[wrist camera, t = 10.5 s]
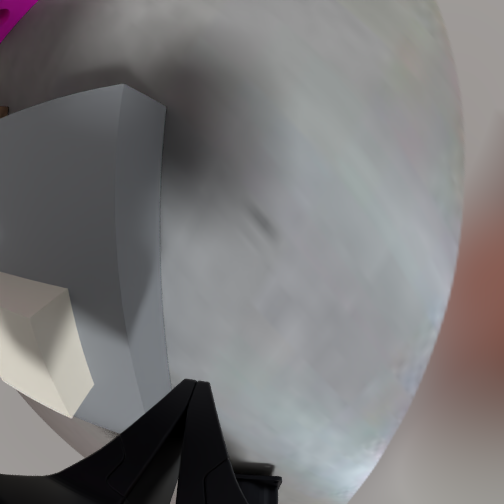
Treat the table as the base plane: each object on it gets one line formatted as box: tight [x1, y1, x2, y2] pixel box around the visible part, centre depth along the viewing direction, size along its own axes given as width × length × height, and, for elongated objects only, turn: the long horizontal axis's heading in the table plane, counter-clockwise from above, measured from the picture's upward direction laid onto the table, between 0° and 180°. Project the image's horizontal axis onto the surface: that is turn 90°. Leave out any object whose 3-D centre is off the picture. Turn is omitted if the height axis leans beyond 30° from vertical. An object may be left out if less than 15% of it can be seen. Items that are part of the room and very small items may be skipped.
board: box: [0, 84, 172, 433], centre depth 11 cm, size 12×16×4 cm
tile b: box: [0, 272, 94, 419], centre depth 8 cm, size 5×5×2 cm
